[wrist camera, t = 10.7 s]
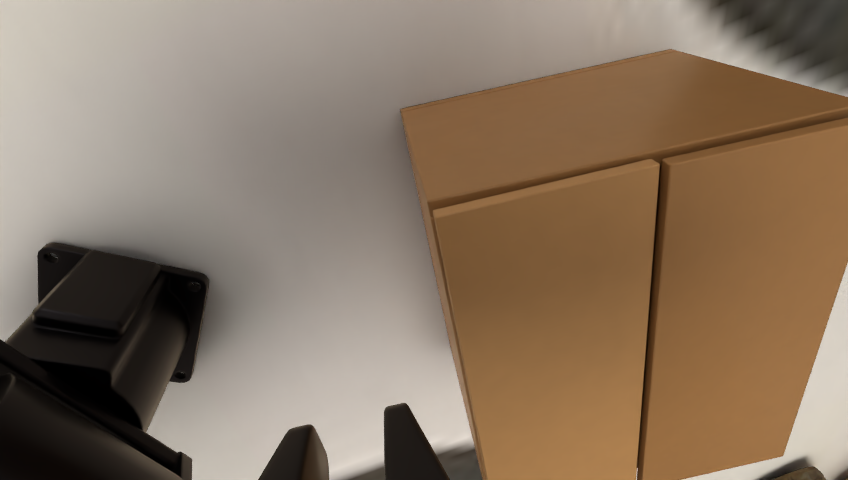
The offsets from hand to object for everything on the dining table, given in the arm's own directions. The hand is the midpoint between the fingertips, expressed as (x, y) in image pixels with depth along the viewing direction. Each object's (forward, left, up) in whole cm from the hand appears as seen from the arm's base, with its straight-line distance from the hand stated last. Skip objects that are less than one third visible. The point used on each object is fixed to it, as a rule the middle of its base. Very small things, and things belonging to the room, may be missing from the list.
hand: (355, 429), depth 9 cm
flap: (-1, -7, -4) cm, 8 cm away
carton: (0, -9, -13) cm, 16 cm away
